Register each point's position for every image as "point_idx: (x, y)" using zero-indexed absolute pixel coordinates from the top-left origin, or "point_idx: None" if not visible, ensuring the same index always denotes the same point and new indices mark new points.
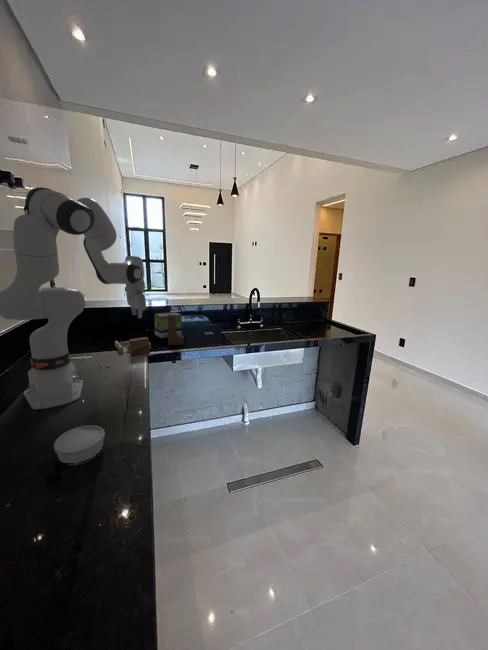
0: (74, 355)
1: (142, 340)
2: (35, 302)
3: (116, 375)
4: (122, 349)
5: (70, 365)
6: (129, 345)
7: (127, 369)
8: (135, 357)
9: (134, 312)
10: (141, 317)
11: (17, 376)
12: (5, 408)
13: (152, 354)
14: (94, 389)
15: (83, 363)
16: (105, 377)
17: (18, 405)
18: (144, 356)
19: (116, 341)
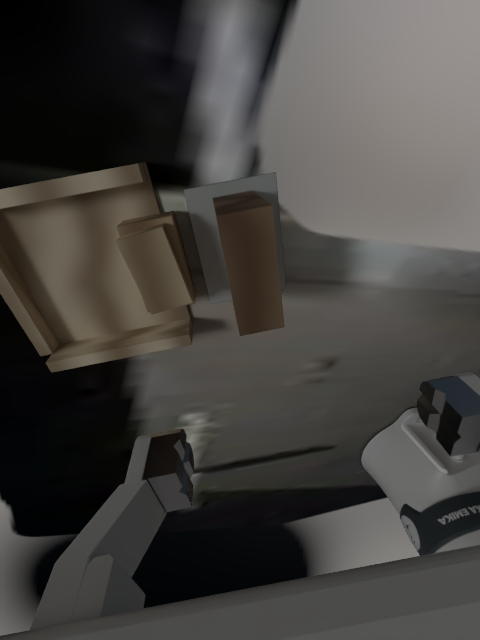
0: None
1: (275, 254)
2: None
3: (419, 336)
4: (189, 330)
5: (475, 479)
6: (174, 306)
7: (390, 303)
8: (280, 269)
9: (185, 481)
10: (471, 381)
11: (286, 512)
12: None
13: (271, 173)
14: None
15: (256, 426)
16: (412, 364)
17: None
18: (279, 223)
19: (65, 364)
